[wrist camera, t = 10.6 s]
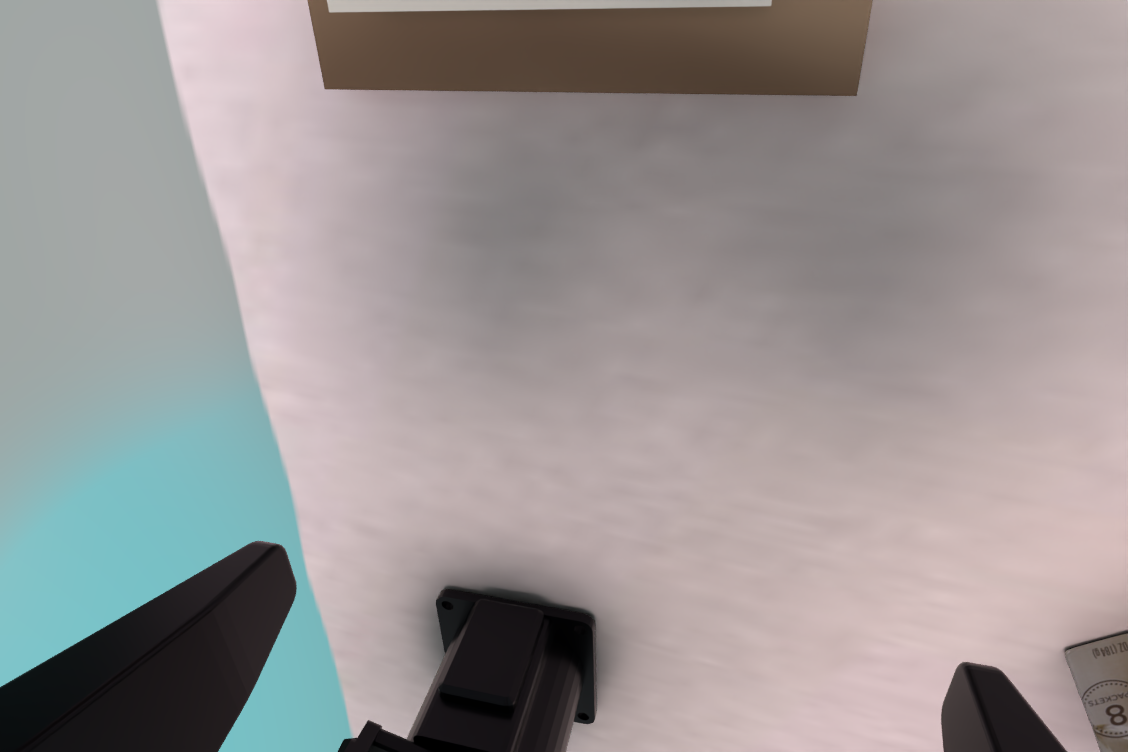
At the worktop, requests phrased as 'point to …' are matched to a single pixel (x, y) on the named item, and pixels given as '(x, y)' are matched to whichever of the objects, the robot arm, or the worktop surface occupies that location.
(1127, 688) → the coffee box
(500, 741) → the robot arm
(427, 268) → the worktop surface
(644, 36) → the board
